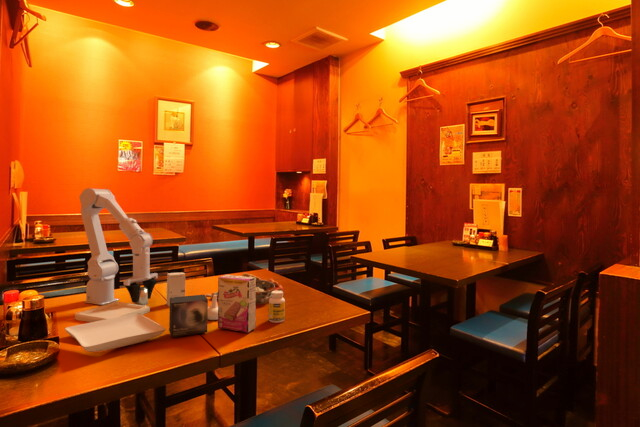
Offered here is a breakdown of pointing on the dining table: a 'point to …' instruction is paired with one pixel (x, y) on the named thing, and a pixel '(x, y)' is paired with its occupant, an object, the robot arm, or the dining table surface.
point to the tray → (111, 311)
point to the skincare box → (175, 285)
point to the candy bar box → (236, 303)
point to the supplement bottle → (276, 307)
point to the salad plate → (115, 332)
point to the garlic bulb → (213, 309)
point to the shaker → (142, 296)
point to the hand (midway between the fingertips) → (141, 300)
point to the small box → (188, 315)
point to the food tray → (260, 289)
